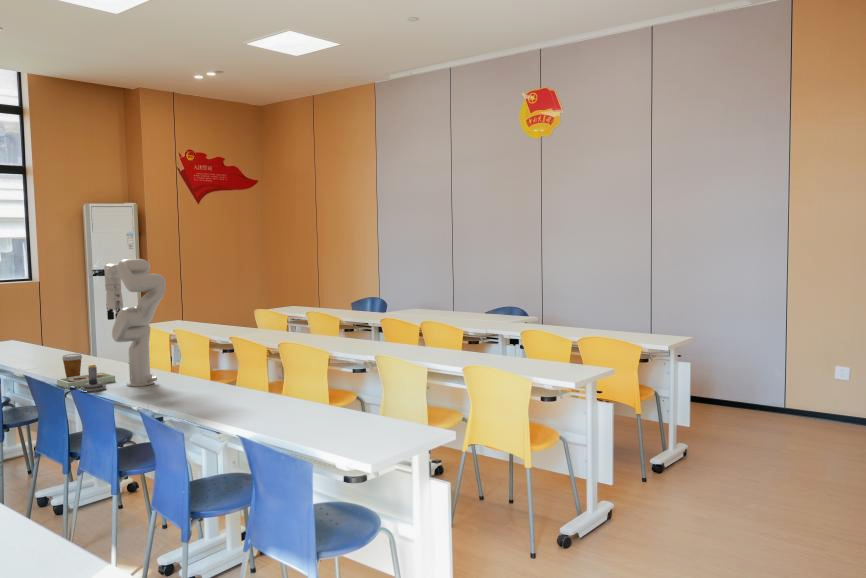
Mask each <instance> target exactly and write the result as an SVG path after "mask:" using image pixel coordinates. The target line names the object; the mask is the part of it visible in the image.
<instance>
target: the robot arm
mask: <svg viewBox="0 0 866 578" xmlns="http://www.w3.org/2000/svg"><path fill="white" fill-rule="evenodd" d="M150 270H151V264H150V263H149V262H148V261H147V260H146V259H143V258H128V259H127V258H126V259H122V260H120V261H118V263H108V264H107V263H106V264H105V265H104V283H105V285H104V287H105V288H104V289H105V291H106V295H105V296H106V297H105V298H106V302H105V304H106V305H105V306H106V314H107V320H108V321H110V320H114V324H113V326H112V331H111V336H112V339H113V341H114V342H115V343H116V342H117V343H128V342H131V343H130V346H129V347H128V370H129V381H126V386H127V387H144V386H145V387H146V386H149V385H150V386H151V385H153V384H154V383H155V382H157V381H158V376H153V374H152V373H151V365H150V364H151V363H150V359H151V358H150V337H151V336H150V335H151V326H150V323H151V322H152V321H153V319H154V316H155V313H156V311H157V308H158V306H159V304H160V302H161V301H162V300H163V298H164V295H165V293H166V289H167V283H166V279H165V277H164V276H163V275H161V274H159V273H149V272H150ZM122 283H123V285H124V286H125V288H126V290H128V291H129V292H130V293H143V292H145V293H144V294H143V296H141V297H140V299H139V301H138V303H137V305H135V306H128V307H127V306H126V307H124V301H123V300H124V299H123V294H122Z"/></svg>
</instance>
